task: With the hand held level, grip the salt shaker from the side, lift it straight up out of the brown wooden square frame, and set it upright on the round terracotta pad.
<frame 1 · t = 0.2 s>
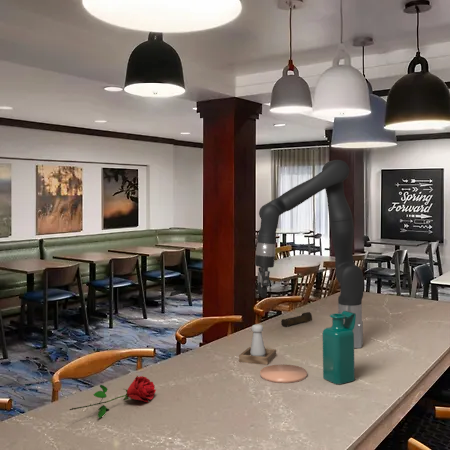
hand: (261, 295, 205), 22 cm above the table, tool pointing down, fingers open, 8 cm apart
terracotta pad: (283, 374, 178), on the table
salt shaker: (258, 359, 196), resting in brown wooden square frame
brown wooden square frame: (258, 358, 196), on the table
pitcher: (340, 379, 172), on the table
flower: (117, 411, 152), on the table
hand tool: (297, 324, 250), on the table
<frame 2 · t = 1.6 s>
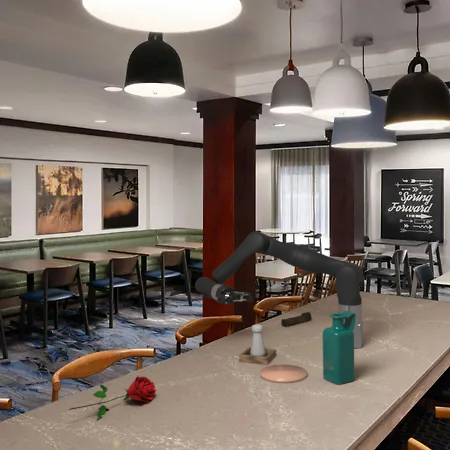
hand: (242, 300, 205), 20 cm above the table, tool horizontal, fingers open, 8 cm apart
nothing on the table moved.
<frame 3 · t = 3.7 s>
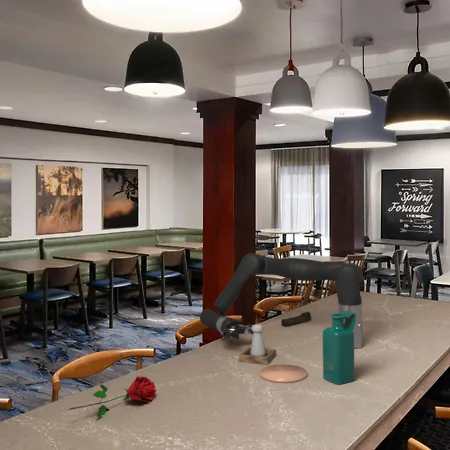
hand: (247, 335, 203), 7 cm above the table, tool horizontal, fingers open, 8 cm apart
nothing on the table moved.
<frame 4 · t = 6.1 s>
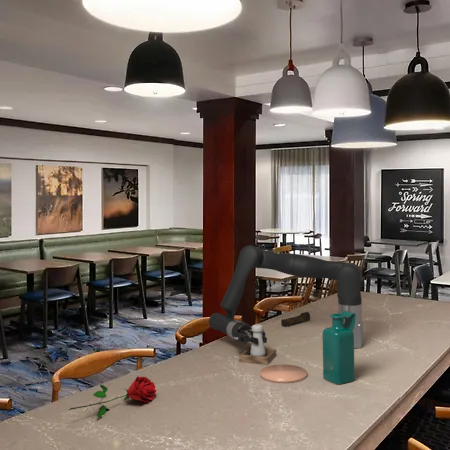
hand: (261, 341, 193), 8 cm above the table, tool horizontal, fingers closed on salt shaker, 3 cm apart
salt shaker: (258, 359, 196), resting in brown wooden square frame, touching gripper
everything else where it was.
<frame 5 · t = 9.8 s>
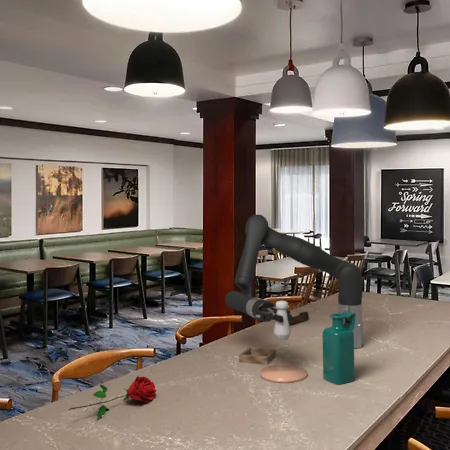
hand: (286, 318, 174), 20 cm above the table, tool horizontal, fingers closed on salt shaker, 3 cm apart
salt shaker: (282, 339, 177), point 12 cm above the table, touching gripper
everything else where it was.
when the fingers open (10 cm above the table, at t = 11.8 s): salt shaker drops 1 cm, resting on terracotta pad.
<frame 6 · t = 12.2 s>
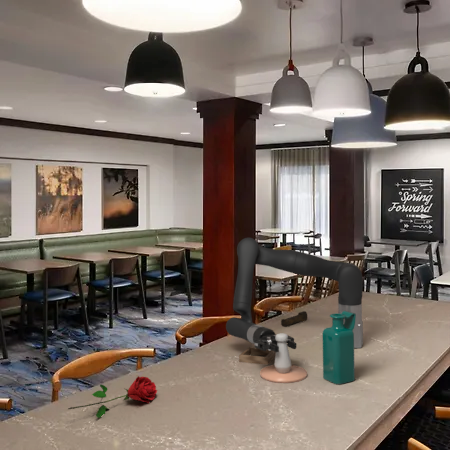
hand: (286, 347, 175), 10 cm above the table, tool horizontal, fingers open, 6 cm apart
salt shaker: (283, 372, 178), point 1 cm above the table, touching terracotta pad
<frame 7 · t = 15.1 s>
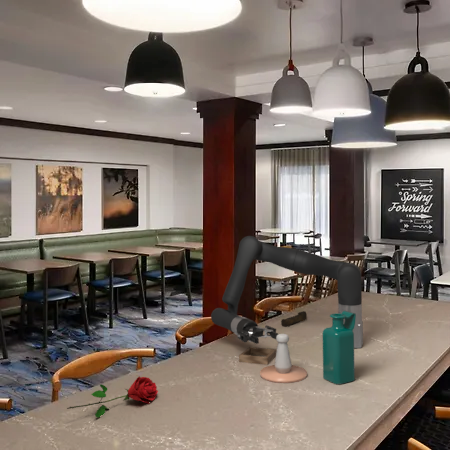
hand: (267, 338, 187), 10 cm above the table, tool horizontal, fingers open, 8 cm apart
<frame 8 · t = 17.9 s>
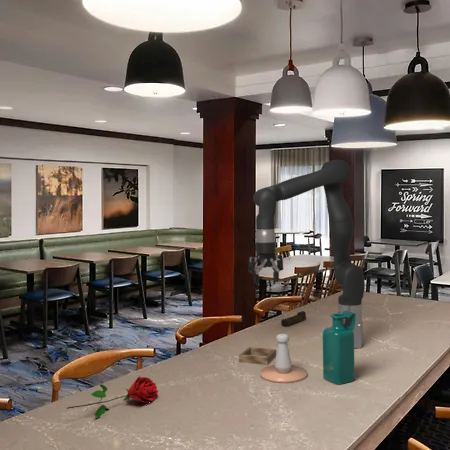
hand: (266, 282, 199), 28 cm above the table, tool pointing down, fingers open, 8 cm apart
at the end: salt shaker inside the target area on the terracotta pad (0.1 cm from its centre), point 0.8 cm above the terracotta pad's base; salt shaker tilted 0°; the gripper is holding nothing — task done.
